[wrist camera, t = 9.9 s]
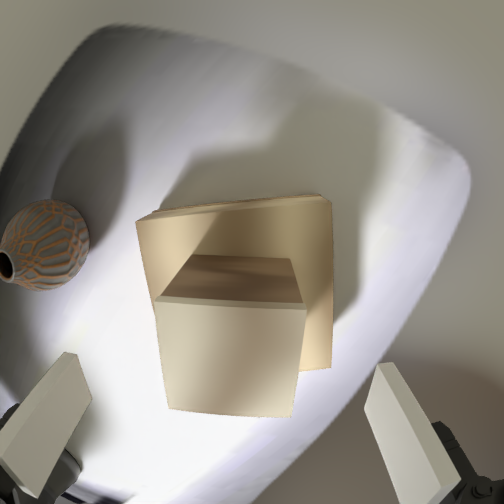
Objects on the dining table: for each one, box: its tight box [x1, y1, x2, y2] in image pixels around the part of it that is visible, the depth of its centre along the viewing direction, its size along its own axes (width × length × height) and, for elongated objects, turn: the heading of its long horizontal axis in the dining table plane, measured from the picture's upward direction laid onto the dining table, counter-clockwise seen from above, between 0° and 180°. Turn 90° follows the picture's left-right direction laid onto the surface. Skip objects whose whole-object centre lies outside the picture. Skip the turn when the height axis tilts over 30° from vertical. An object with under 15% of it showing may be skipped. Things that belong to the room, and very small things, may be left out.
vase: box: [0, 199, 89, 291], centre depth 19 cm, size 7×7×9 cm
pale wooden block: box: [154, 254, 307, 417], centre depth 16 cm, size 6×6×7 cm
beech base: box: [135, 194, 333, 372], centre depth 22 cm, size 12×12×5 cm
